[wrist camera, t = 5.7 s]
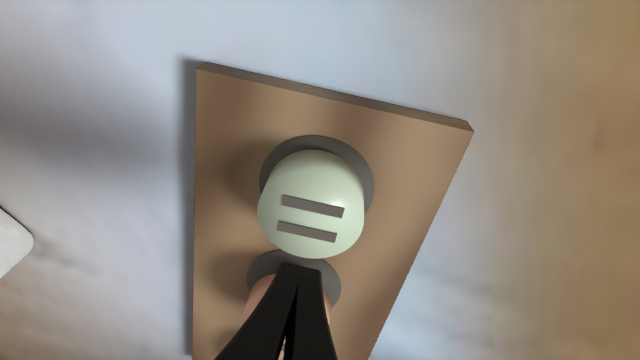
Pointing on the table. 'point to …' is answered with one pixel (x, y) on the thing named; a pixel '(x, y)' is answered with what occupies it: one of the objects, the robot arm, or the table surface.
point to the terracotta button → (258, 293)
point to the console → (251, 177)
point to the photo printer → (12, 242)
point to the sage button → (312, 205)
